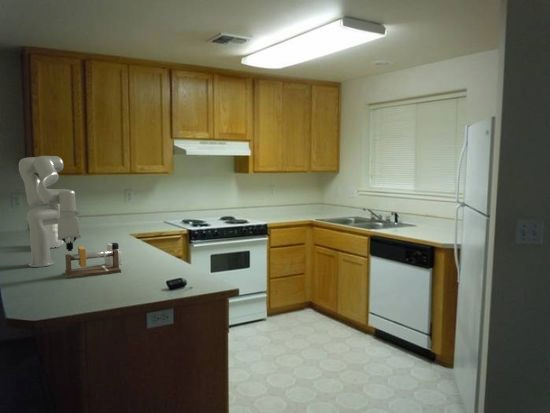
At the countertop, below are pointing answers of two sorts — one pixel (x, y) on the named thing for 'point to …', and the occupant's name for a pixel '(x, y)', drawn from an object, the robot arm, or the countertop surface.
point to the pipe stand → (96, 269)
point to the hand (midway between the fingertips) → (69, 250)
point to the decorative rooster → (53, 235)
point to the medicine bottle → (110, 259)
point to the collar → (82, 256)
